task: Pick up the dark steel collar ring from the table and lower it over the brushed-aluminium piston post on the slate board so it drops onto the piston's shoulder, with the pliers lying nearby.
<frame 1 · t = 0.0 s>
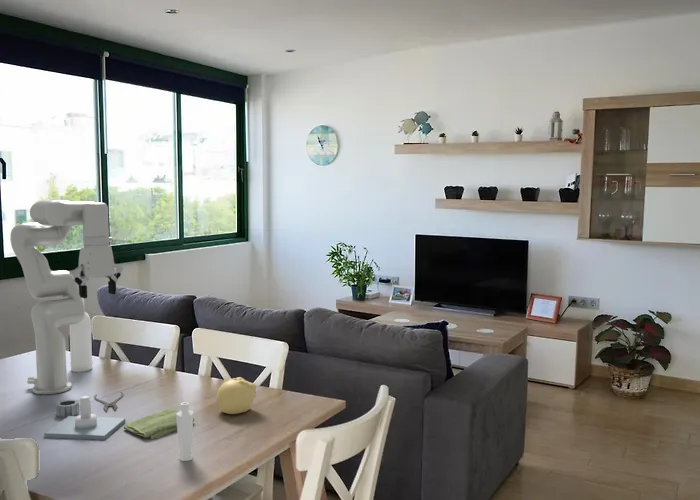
hand: (98, 295, 207), 37 cm above the table, tool pointing down, fingers open, 9 cm apart
ring: (68, 413, 207), on the table
pale yellow round lump: (235, 411, 211), on the table
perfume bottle: (185, 458, 175), on the table
washcloth: (159, 429, 197), on the table
pliers: (113, 403, 220), on the table
bottle: (81, 369, 257), on the table
piston block: (86, 429, 194), on the table
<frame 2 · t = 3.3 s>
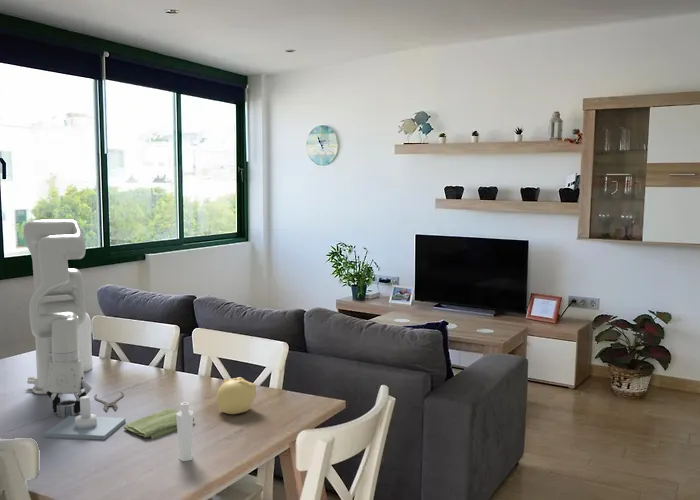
hand: (67, 411, 207), 1 cm above the table, tool pointing down, fingers closed on ring, 6 cm apart
ring: (68, 413, 207), on the table, touching gripper
everything else where it was.
when the fingers open (6 cm above the table, at t = 8.4 s): ring drops 1 cm, resting on piston block.
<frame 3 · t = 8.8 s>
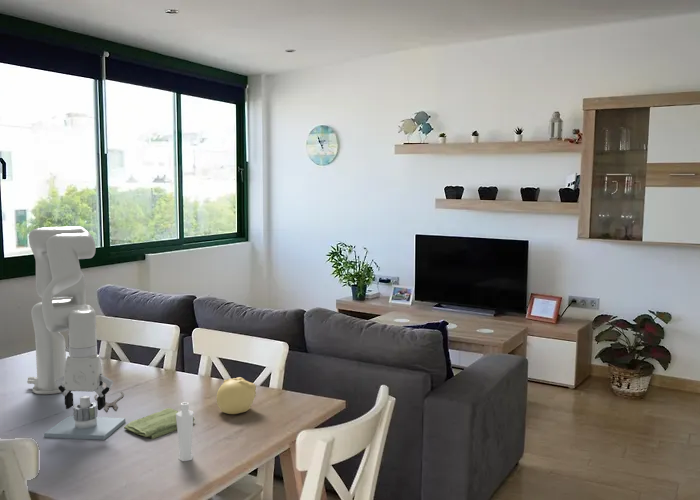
hand: (85, 408, 194), 6 cm above the table, tool pointing down, fingers open, 9 cm apart
ring: (85, 417, 194), point 4 cm above the table, touching piston block
everything else where it was.
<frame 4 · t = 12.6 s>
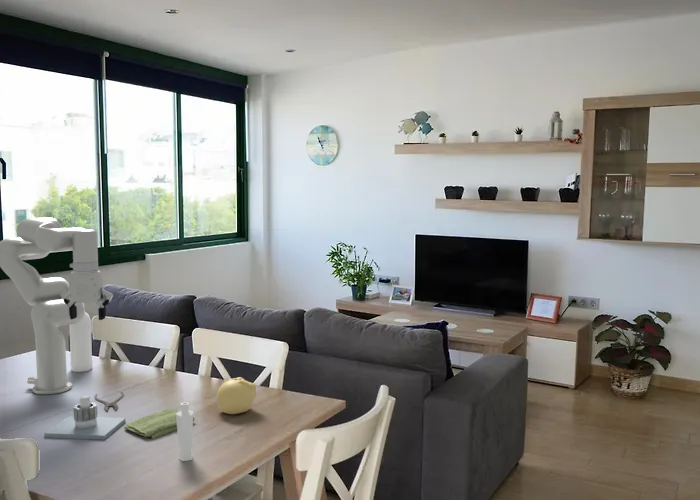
hand: (87, 318, 215), 28 cm above the table, tool pointing down, fingers open, 9 cm apart
nothing on the table moved.
at the end: ring 0.1 cm from the piston block (horizontally); ring point 3.7 cm above the table; the gripper is holding nothing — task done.
